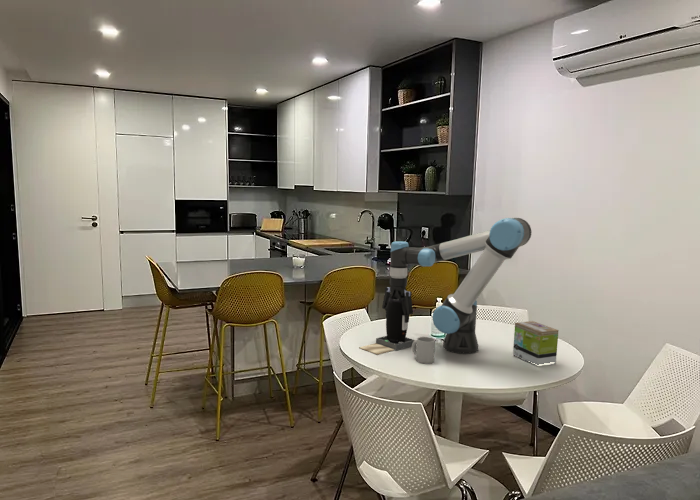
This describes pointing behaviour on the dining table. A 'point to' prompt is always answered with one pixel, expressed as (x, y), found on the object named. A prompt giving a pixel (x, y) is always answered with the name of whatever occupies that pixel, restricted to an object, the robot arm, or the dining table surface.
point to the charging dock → (399, 346)
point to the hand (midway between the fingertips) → (396, 327)
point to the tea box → (535, 342)
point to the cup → (424, 349)
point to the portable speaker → (395, 321)
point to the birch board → (376, 348)
